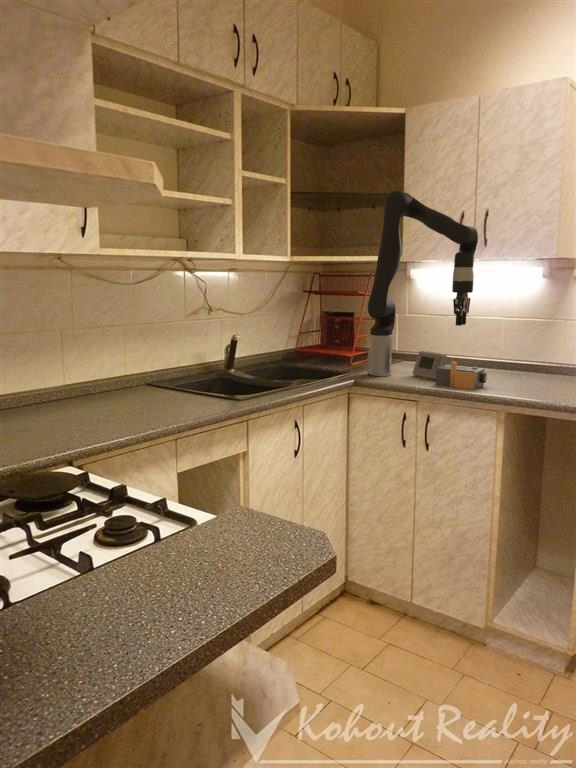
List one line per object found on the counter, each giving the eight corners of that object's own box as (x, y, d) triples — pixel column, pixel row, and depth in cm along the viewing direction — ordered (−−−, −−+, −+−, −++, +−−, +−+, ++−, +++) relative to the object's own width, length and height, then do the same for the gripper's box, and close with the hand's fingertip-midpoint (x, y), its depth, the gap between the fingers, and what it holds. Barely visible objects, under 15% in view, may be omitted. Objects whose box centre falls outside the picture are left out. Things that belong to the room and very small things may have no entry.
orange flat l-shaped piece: (449, 386, 230) (450, 362, 229) (450, 386, 232) (451, 361, 230) (476, 389, 225) (477, 364, 223) (477, 388, 227) (478, 363, 225)
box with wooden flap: (435, 384, 235) (436, 366, 234) (443, 381, 243) (444, 363, 241) (481, 389, 226) (482, 370, 225) (487, 385, 233) (488, 367, 232)
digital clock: (410, 375, 258) (411, 350, 256) (429, 374, 261) (430, 350, 259) (430, 381, 243) (431, 355, 241) (449, 380, 245) (451, 354, 243)
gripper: (459, 279, 236) (456, 323, 239) (447, 279, 224) (444, 325, 227) (478, 279, 232) (475, 324, 235) (467, 279, 220) (464, 326, 223)
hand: (460, 324), depth 231 cm, fingers open, 4 cm apart
